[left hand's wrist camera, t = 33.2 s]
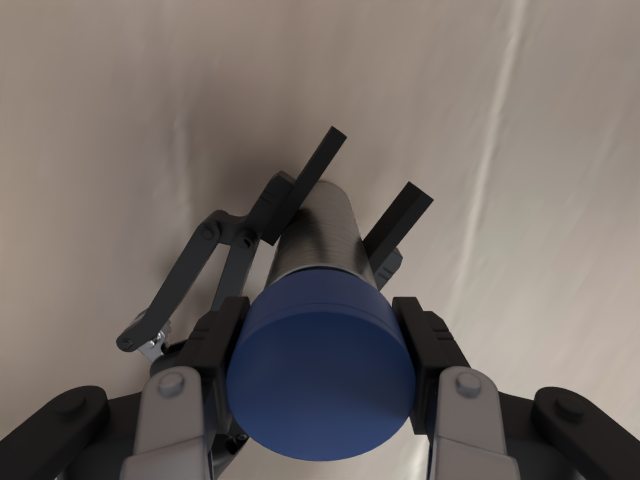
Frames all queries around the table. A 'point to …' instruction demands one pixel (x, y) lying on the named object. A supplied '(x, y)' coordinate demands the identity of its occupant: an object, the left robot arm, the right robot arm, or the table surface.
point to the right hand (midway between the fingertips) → (380, 162)
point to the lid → (320, 368)
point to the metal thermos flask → (322, 238)
